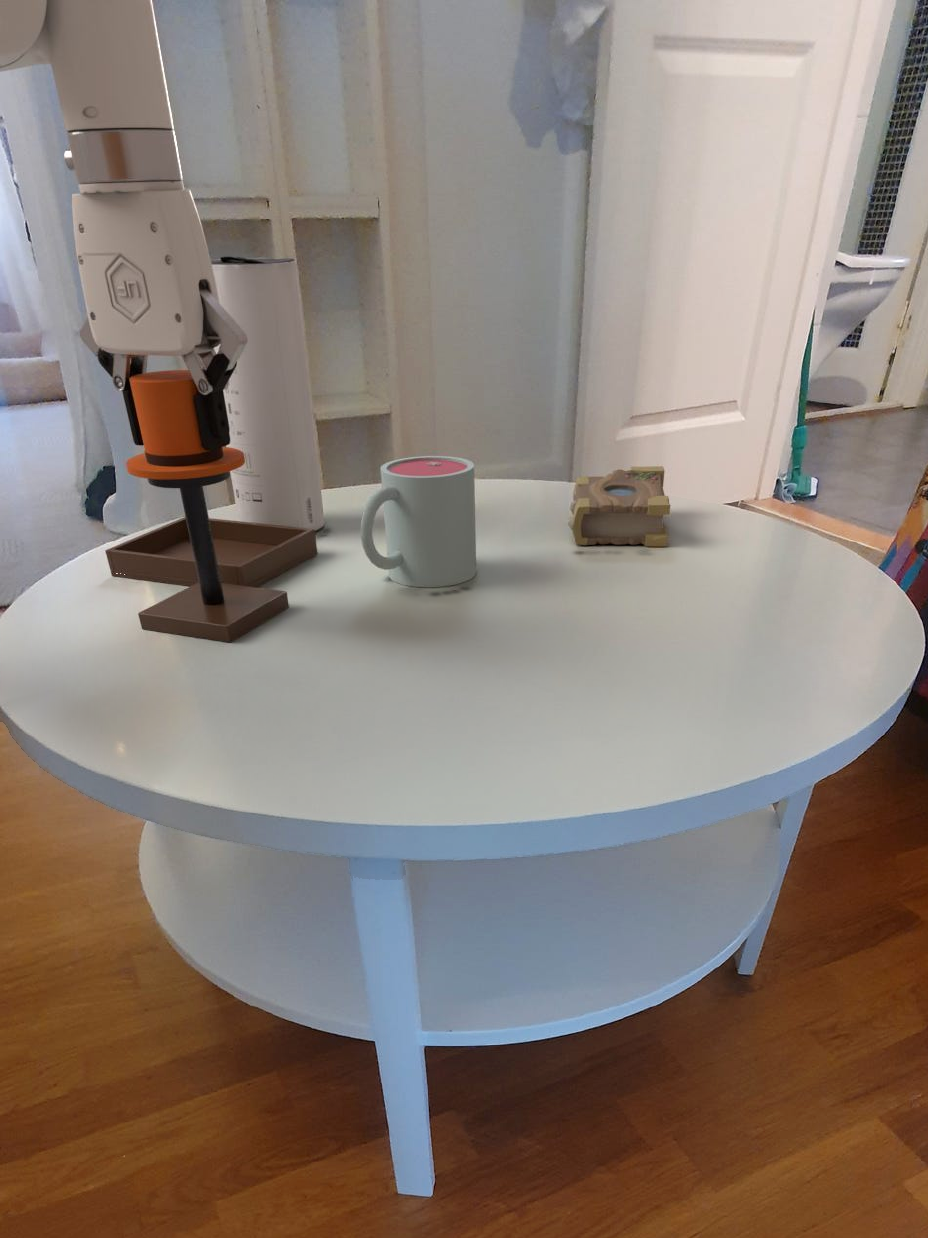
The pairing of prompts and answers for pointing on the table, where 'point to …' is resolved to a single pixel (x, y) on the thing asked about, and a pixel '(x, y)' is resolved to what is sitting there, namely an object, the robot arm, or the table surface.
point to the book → (620, 508)
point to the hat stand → (209, 582)
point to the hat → (173, 430)
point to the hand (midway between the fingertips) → (182, 442)
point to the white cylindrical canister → (270, 395)
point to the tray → (239, 551)
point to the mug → (425, 521)
